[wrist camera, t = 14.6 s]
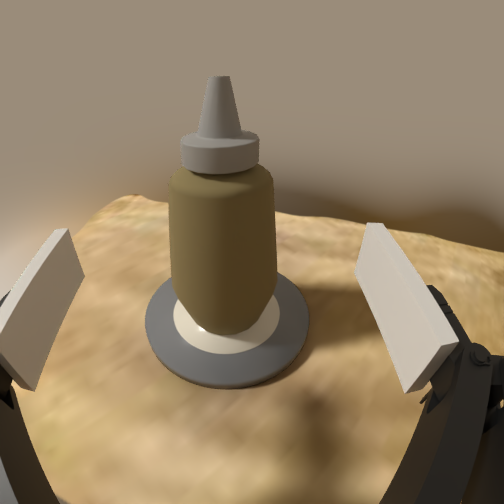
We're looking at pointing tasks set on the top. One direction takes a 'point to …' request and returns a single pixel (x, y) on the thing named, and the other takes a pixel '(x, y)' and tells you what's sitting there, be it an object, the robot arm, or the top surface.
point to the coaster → (228, 340)
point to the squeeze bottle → (222, 220)
